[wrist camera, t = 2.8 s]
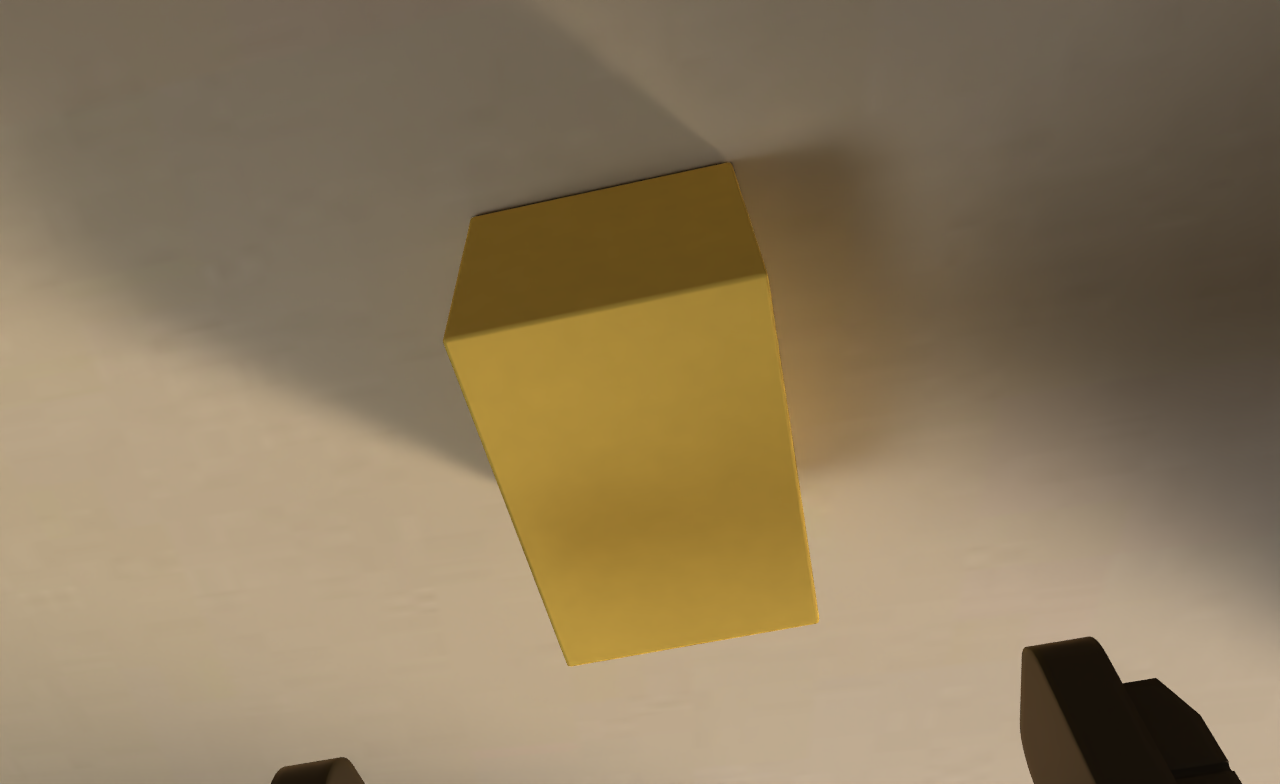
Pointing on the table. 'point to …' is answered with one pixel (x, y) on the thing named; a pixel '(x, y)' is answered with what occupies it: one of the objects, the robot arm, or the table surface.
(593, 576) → the sponge
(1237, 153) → the table surface
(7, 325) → the table surface
